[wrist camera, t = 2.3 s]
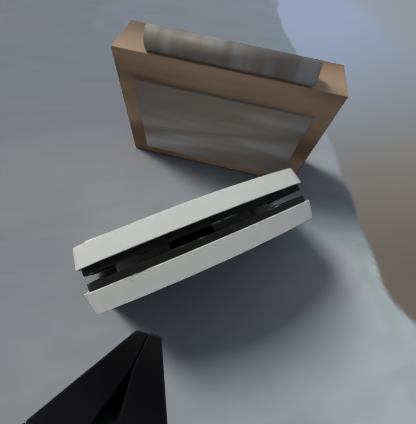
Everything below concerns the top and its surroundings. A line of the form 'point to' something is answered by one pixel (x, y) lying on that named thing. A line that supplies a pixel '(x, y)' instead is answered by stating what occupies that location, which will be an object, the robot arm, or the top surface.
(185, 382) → the top surface
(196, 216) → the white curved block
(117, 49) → the tan flat boxy piece
